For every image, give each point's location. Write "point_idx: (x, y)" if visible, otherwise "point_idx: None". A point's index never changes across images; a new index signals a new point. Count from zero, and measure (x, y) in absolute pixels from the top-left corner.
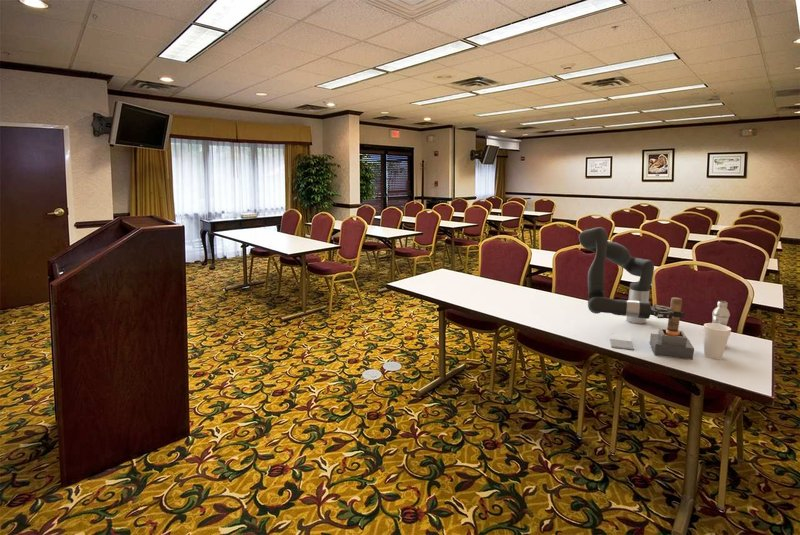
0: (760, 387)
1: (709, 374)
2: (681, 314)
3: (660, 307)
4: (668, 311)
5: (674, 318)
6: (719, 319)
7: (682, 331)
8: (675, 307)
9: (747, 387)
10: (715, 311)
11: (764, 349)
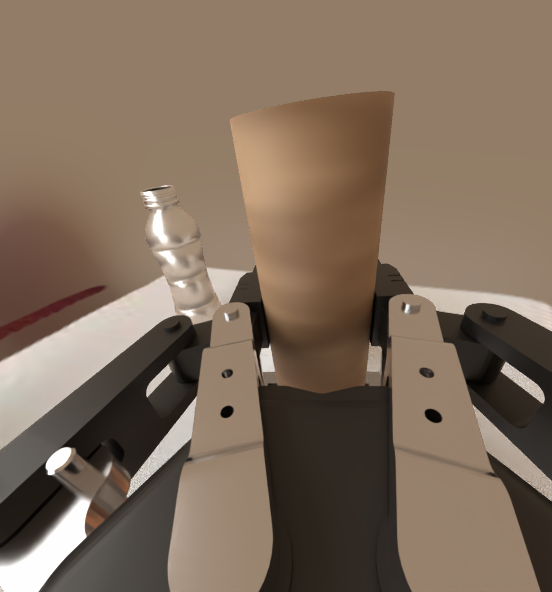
0: (503, 301)
1: (530, 386)
2: (394, 272)
3: (264, 422)
4: (442, 339)
5: (368, 350)
6: (195, 251)
7: (267, 373)
8: (378, 237)
9: (540, 320)
10: (171, 231)
11: (230, 271)
